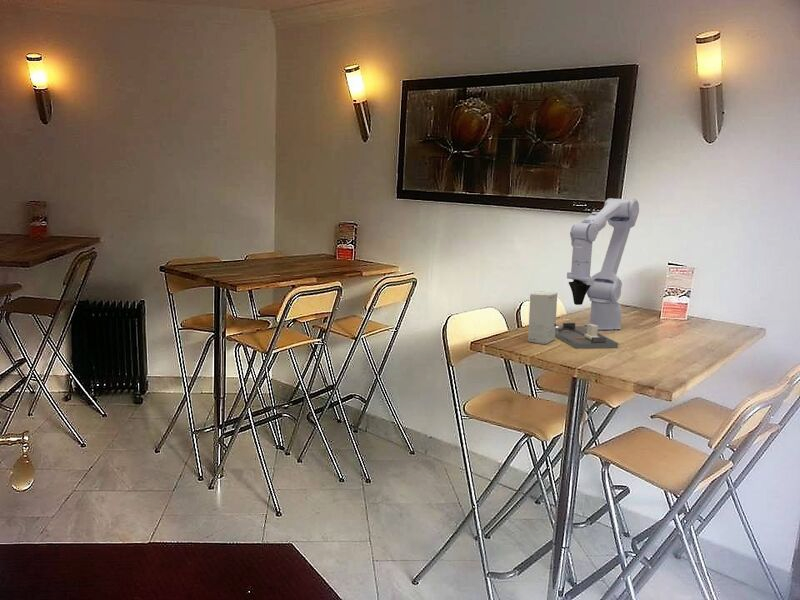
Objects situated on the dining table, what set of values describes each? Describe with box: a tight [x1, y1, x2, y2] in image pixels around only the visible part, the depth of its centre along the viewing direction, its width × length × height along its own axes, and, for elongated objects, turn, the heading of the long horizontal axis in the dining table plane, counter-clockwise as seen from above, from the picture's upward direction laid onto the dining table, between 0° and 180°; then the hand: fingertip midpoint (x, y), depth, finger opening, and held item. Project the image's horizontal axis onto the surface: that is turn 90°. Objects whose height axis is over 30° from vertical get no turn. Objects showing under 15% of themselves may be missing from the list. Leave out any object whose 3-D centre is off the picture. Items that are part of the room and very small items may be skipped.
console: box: [555, 322, 619, 349], centre depth 184 cm, size 13×22×3 cm, turn 10°
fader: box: [584, 323, 599, 340], centre depth 178 cm, size 3×4×4 cm, turn 10°
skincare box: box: [527, 291, 558, 345], centre depth 179 cm, size 8×6×15 cm
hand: (578, 304), depth 188 cm, fingers closed
